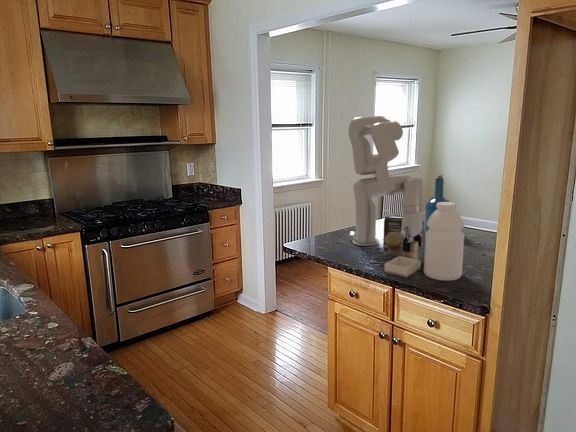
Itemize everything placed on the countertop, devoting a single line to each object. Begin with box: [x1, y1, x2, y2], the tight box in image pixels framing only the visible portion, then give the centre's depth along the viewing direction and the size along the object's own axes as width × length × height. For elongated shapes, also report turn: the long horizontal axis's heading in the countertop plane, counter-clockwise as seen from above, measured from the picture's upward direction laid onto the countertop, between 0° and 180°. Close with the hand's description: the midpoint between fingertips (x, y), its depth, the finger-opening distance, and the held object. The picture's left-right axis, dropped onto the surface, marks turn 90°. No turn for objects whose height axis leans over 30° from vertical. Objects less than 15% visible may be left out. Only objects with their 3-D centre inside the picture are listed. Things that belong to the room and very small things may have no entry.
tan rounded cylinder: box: [403, 239, 419, 260], centre depth 180 cm, size 4×4×9 cm
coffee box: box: [382, 216, 404, 257], centre depth 190 cm, size 9×6×16 cm
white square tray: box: [384, 256, 422, 278], centre depth 171 cm, size 10×12×4 cm
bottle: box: [423, 201, 466, 282], centre depth 163 cm, size 14×14×28 cm
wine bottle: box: [423, 174, 450, 233], centre depth 220 cm, size 14×13×30 cm
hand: (412, 248), depth 179 cm, fingers open, 9 cm apart
